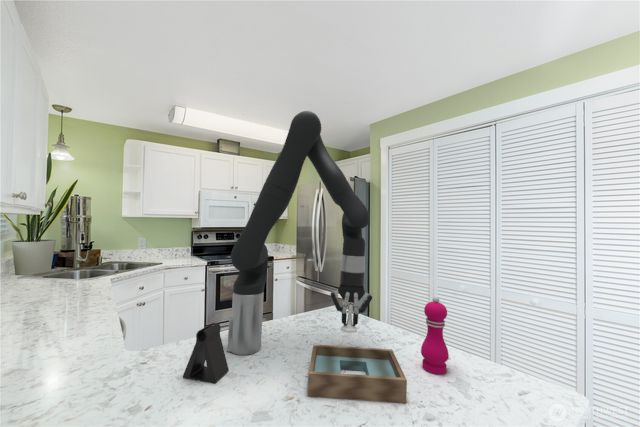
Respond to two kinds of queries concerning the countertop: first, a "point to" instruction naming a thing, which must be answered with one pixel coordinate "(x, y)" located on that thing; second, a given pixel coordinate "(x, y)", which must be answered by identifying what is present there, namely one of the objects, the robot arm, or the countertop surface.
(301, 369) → the countertop surface
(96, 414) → the countertop surface
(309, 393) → the box
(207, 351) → the phone stand
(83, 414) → the countertop surface
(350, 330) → the chess piece
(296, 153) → the robot arm
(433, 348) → the pepper mill
